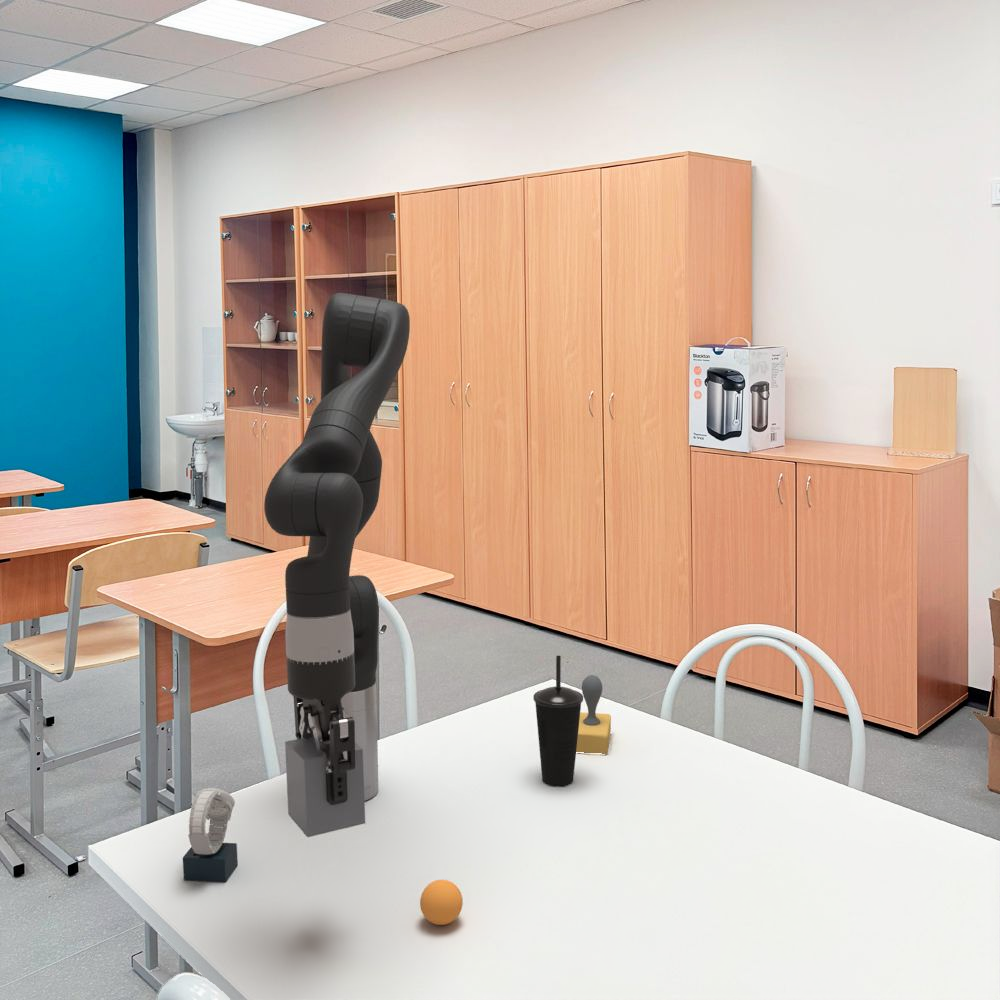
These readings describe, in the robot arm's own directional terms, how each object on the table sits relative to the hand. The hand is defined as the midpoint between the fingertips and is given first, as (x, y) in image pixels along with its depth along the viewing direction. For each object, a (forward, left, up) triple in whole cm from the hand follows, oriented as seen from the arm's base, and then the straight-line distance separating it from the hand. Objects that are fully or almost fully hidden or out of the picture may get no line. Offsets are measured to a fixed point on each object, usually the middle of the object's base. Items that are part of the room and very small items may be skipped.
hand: (325, 790), depth 119 cm
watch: (-20, -9, -17) cm, 28 cm away
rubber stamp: (-32, +58, -17) cm, 69 cm away
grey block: (0, 0, -3) cm, 3 cm away
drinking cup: (-22, +45, -17) cm, 53 cm away
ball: (+5, +12, -15) cm, 20 cm away
